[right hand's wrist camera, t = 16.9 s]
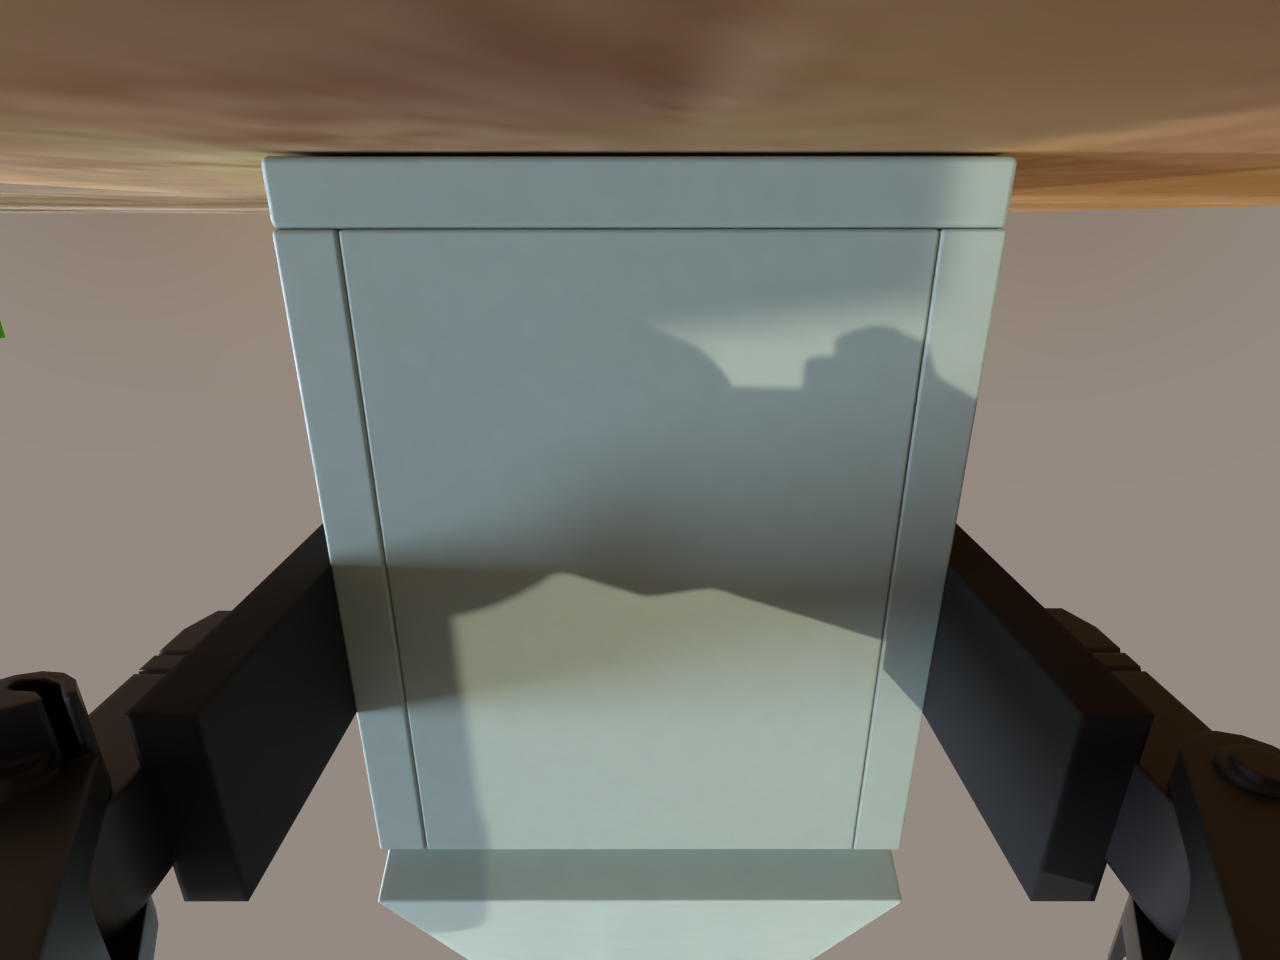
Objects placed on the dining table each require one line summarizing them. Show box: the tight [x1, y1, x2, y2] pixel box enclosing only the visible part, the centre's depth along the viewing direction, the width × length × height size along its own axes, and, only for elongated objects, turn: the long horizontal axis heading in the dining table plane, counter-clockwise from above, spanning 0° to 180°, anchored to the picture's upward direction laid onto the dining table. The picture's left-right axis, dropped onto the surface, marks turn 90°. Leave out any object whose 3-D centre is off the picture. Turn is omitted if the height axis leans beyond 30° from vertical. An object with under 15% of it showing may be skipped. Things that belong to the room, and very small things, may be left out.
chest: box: [261, 156, 1017, 849], centre depth 17 cm, size 13×9×11 cm
